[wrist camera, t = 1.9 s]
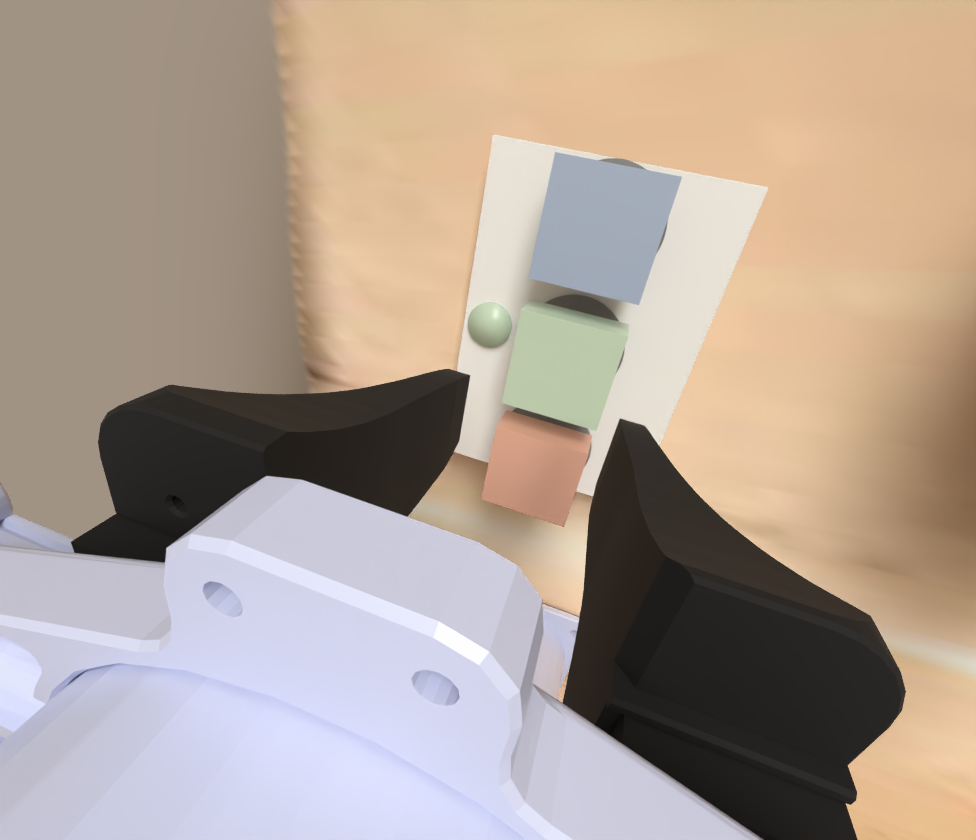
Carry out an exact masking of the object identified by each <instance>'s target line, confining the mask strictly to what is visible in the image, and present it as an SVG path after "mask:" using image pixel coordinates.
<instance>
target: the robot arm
mask: <svg viewBox="0 0 976 840" xmlns="http://www.w3.org/2000/svg"><path fill="white" fill-rule="evenodd" d="M469 381H470V375H468V374H464V373H461V372H458V371H454V370H451V369H443V370H438V371H434V372H430V373H426V374H422V375H418V376H414V377H410V378H407V379H403V380H399V381H395V382H390V383H385V384H381V385H376V386H371V387H367V388H361V389H355V390H348V391H339V392H330V393H313V394H284V395H282V394H253V393H252V394H251V393H236V392H225V391H217V390H208V389H200V388H192V387H183V386H176V385H168V386H165V387H163V388H161V389H158V390H156V391H153V392H151V393H148V394H146V395H144V396H141V397H139V398H136V399H134V400H132V401H129V402H127V403H124V404H122V405H120V406H118V407H116V408H114V409H113V410H111V411H110V412H108V413H107V415H106V416H105V418H104V420H103V421H102V423H101V426H100V433H99V440H98V444H99V451H100V457H101V461H102V465H103V468H104V472H105V475H106V479H107V482H108V486H109V489H110V493H111V497H112V500H113V504H114V507H115V511H116V513H117V514H115V515H114V516H112V517H110V518H109V519H107V520H106V521H104V522H102V523H101V524H99V525H98V526H96V527H94V528H93V529H91V530H89V531H88V532H86V533H85V534H83V535H81V536H80V537H78V538H76V539H73V538H70V537H68V536H65V535H63V534H60V533H58V532H56V531H53V530H51V529H48V528H46V527H44V526H41V525H39V524H37V523H34V522H31V521H29V520H27V519H25V518H22V517H20V516H17V515H15V514H13V513H12V512H13V507H12V504H11V501H10V498H9V496H8V493H7V491H6V490H5V488H4V487H3V485H2V484H1V483H0V840H857V837H856V834H855V831H854V828H853V825H852V822H851V819H850V816H849V813H848V809H847V806H846V803H847V804H850V805H851V804H852V803H853V802H855V801H856V796H857V791H856V788H855V785H854V782H853V780H852V777H851V774H850V771H849V768H848V764H849V763H851V762H852V761H853V760H854V759H855V758H856V757H857V756H858V755H859V754H860V753H862V752H863V751H864V750H865V749H866V748H867V747H868V746H869V745H870V744H871V743H872V742H874V741H875V740H876V739H877V738H878V737H879V736H880V735H881V734H882V733H883V732H885V731H886V730H887V729H888V728H889V727H890V726H891V724H892V723H893V722H894V720H895V719H896V718H897V716H898V715H899V714H900V712H901V711H902V707H903V702H904V698H905V693H906V691H905V687H904V683H903V679H902V676H901V672H900V670H899V668H898V666H897V664H896V662H895V660H894V659H893V657H892V655H891V653H890V651H889V649H888V647H887V645H886V643H885V642H884V640H883V638H882V636H881V634H880V632H879V630H878V628H877V627H876V625H875V623H874V621H873V619H872V618H871V616H870V615H868V614H866V613H864V612H863V611H861V610H859V609H857V608H856V607H854V606H852V605H850V604H848V603H847V602H845V601H843V600H841V599H840V598H838V597H836V596H834V595H832V594H831V593H829V592H827V591H825V590H824V589H822V588H820V587H818V586H816V585H815V584H813V583H811V582H809V581H808V580H806V579H805V578H803V577H802V576H800V575H798V574H797V573H795V572H794V571H792V570H791V569H789V568H788V567H786V566H785V565H783V564H782V563H780V562H778V561H777V560H775V559H774V558H773V557H771V556H770V555H768V554H767V553H766V552H764V551H763V550H761V549H760V548H759V547H757V546H756V545H755V544H753V543H752V542H751V541H749V540H748V539H747V538H746V537H744V536H743V535H742V534H741V533H739V532H738V531H737V530H735V529H734V528H733V527H732V526H731V525H729V524H728V523H727V522H726V521H725V520H724V519H723V518H721V517H720V516H719V515H718V514H717V513H716V512H715V511H714V510H713V509H712V508H711V507H710V506H709V505H708V504H707V503H706V502H705V501H704V500H703V499H702V498H701V497H700V496H699V495H698V494H697V493H696V492H695V491H694V490H693V489H692V488H691V486H690V485H689V484H688V483H687V482H686V481H685V479H684V478H683V477H682V476H681V475H680V473H679V472H678V471H677V470H676V468H675V467H674V466H673V464H672V463H671V462H670V460H669V459H668V458H667V456H666V455H665V454H664V452H663V451H662V449H661V448H660V446H659V445H658V444H657V442H656V441H655V439H654V438H653V436H652V435H651V433H650V432H649V430H648V429H647V428H646V427H645V425H641V424H638V423H634V422H631V421H627V420H624V419H619V422H618V425H617V427H616V430H615V433H614V436H613V438H612V441H611V444H610V447H609V450H608V452H607V455H606V458H605V461H604V463H603V466H602V469H601V472H600V474H599V477H598V480H597V483H596V486H595V491H594V495H593V500H592V504H591V509H590V514H589V524H588V537H587V551H586V565H585V579H584V591H583V599H582V607H581V612H580V617H577V616H574V615H571V614H569V613H566V612H563V611H561V610H558V609H555V608H552V607H550V606H547V605H544V604H543V603H542V599H541V597H540V596H539V594H538V593H537V592H536V590H535V589H534V587H533V586H532V585H531V583H530V582H529V581H528V579H527V578H526V576H525V575H524V574H523V572H522V571H521V569H520V568H519V567H518V565H516V564H514V563H513V562H511V561H509V560H508V559H506V558H504V557H502V556H501V555H499V554H497V553H496V552H494V551H492V550H491V549H489V548H487V547H485V546H484V545H482V544H480V543H479V542H477V541H474V540H471V539H468V538H466V537H463V536H460V535H457V534H454V533H451V532H449V531H446V530H443V529H440V528H437V527H435V526H432V525H429V524H426V523H423V522H420V521H417V520H415V519H412V518H409V517H408V516H409V514H410V513H411V512H412V510H413V509H414V508H415V506H416V505H417V504H418V503H419V501H420V500H421V499H422V497H423V496H424V495H425V493H426V492H427V491H428V490H429V488H430V487H431V486H432V484H433V483H434V482H435V480H436V479H437V478H438V476H439V475H440V474H441V472H442V471H443V470H444V468H445V467H446V465H447V463H448V461H449V459H450V458H451V456H452V454H453V452H454V450H455V448H456V446H457V445H458V443H459V440H460V434H461V428H462V422H463V416H464V410H465V405H466V399H467V393H468V387H469ZM573 630H575V631H573ZM569 667H570V669H569ZM568 669H569V674H568V679H567V684H566V689H565V694H564V699H563V703H561V702H560V701H559V700H558V695H559V690H560V688H561V686H562V683H563V681H564V679H565V676H566V674H567V672H568Z"/></svg>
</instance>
